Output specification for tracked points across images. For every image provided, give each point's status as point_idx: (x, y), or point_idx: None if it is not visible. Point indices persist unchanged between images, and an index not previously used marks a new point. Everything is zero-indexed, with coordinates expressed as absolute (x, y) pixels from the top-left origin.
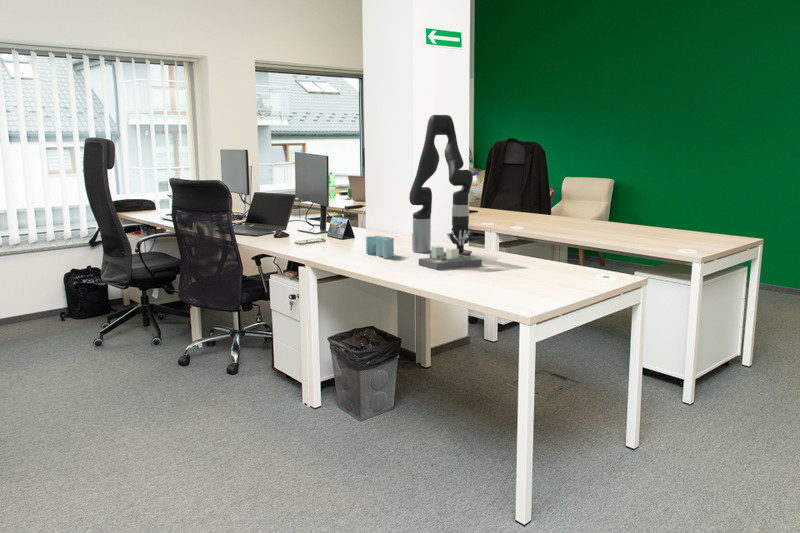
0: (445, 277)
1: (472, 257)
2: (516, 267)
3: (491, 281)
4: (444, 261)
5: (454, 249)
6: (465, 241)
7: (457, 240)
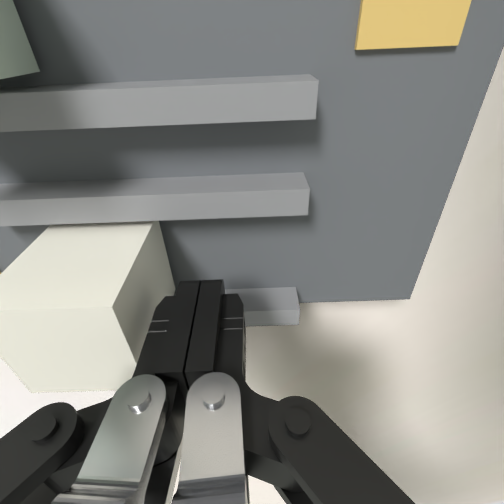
0: (19, 419)
1: (452, 160)
2: (498, 365)
3: None
4: None
5: (80, 390)
6: (275, 484)
7: (116, 484)
